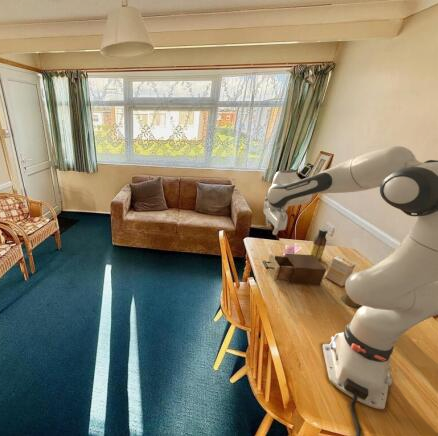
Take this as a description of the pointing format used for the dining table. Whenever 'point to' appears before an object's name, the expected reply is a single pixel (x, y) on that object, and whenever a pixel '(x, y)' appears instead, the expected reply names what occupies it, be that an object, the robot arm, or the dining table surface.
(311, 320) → the dining table surface
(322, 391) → the dining table surface
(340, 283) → the supplement box
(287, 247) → the lily
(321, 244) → the sauce bottle
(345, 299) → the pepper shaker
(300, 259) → the cabinet
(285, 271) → the drawer
